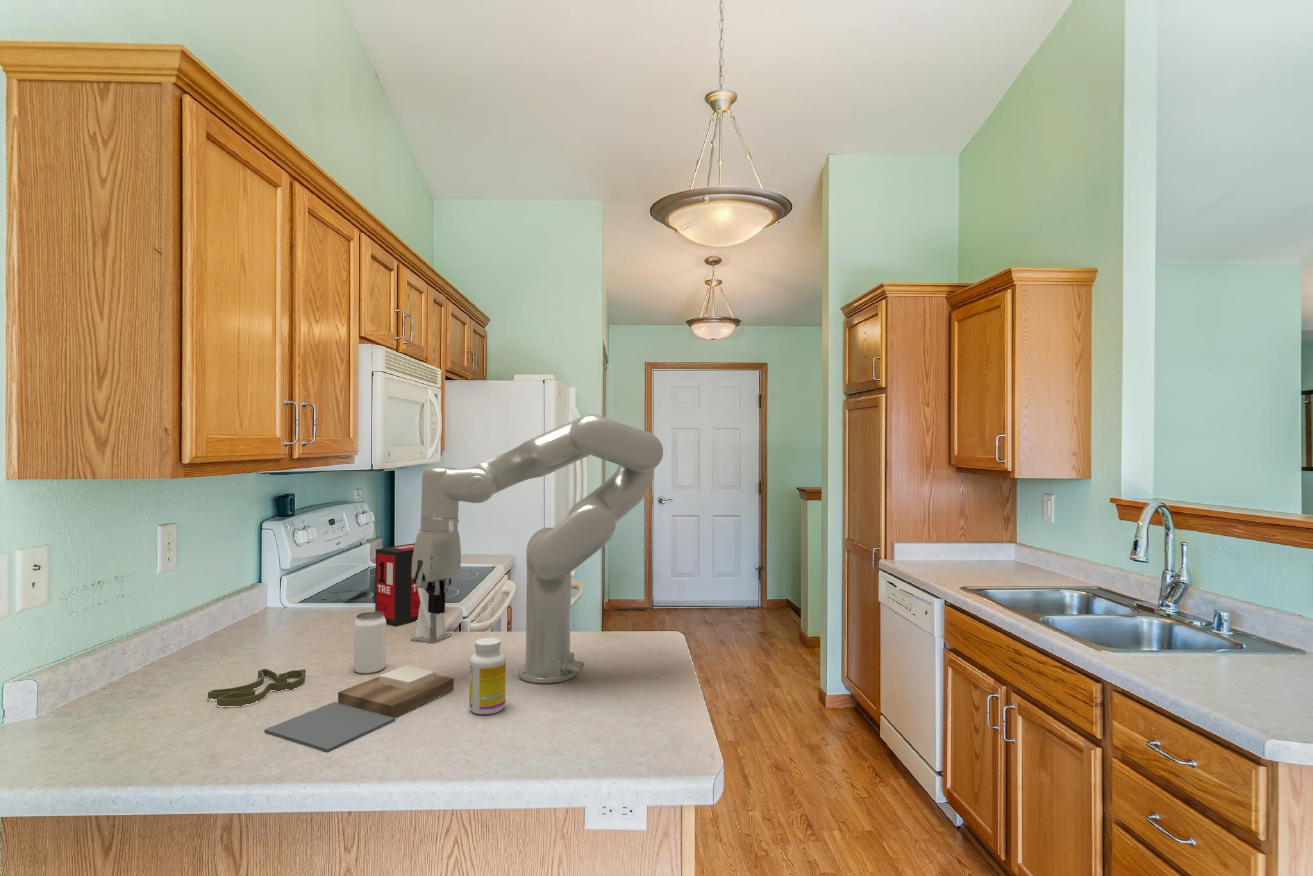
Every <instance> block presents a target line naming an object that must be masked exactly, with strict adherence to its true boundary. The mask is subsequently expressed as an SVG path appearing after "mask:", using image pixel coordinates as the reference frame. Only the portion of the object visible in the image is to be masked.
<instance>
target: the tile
mask: <svg viewBox="0 0 1313 876" xmlns="http://www.w3.org/2000/svg"><path fill="white" fill-rule="evenodd" d="M436 672H437V671H436V670H430V669H425V668H421V667H417V666H411V665H403V666H401V667H399V668H396V669H393V670H390V671H388V672H385V673H383V674H380V675H379V676H378V677H379V683H380V684H384V685H389V686H393V687H397V688H401V689H405V690H411V689H413V688H415V687H418V686H420V685H423V684H425V683H427V682H430V681H432V680H434V679H436V675H437V674H436Z"/></svg>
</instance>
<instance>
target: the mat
mask: <svg viewBox="0 0 1313 876" xmlns="http://www.w3.org/2000/svg"><path fill="white" fill-rule="evenodd" d="M393 722H396V718H394V717H390V716H386V715H383V714H379V713H375V712H371V711H367V710H364V709H360V708H356V707H352V706H348V705H345V704H341V703H338V701H337V702H336V701H333V702H331V703H328V704H325V705H323V706H320V707H317V708H315V709H312V710H311V711H307V712H305V713H302V714H299V715H297V716H294V717H292V718H290V719H288V720H285V721H282V722H279V723H277V724H274V725H273V726H270V727H268V728H265V729H264V730H263V731H264V733H265V734H268V735H271V736H275V737H278V738H280V739H284V740H287V741H291V742H294V743H297V744H300V745H304V746H307V747H310V748H313V749H315V750H319V751H323V752H326V753H329V752H331V751H333V750H336V749H338V748H340V747H342V746H344V745H346V744H349V743H351V742H353V741H354V740H358V739H359V738H361V737H363V736H365V735H367V734H370V733H372V732H374V731H377V730H378V729H380V728H383V727H385V726H387V725H388V724H391V723H393Z"/></svg>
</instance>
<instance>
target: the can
mask: <svg viewBox="0 0 1313 876" xmlns="http://www.w3.org/2000/svg"><path fill="white" fill-rule="evenodd" d="M353 626H354V630H353V635H354V637H353V670H354V672H356V674H361V675H371V674H375V673H380V672H382V671H384V669H385V668H386V666H387V665H386V664H387V661H386V660H387V624H386V619H385V617H384V613H382V612H375V611H367V612H362V613H359V614H357V615H356V619H355V621H354V625H353Z"/></svg>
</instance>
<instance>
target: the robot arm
mask: <svg viewBox="0 0 1313 876" xmlns="http://www.w3.org/2000/svg"><path fill="white" fill-rule="evenodd" d="M590 456H593V457H595V458H598V459H601V460H604V461H607V462H610V463H613V464H616V465H618V466H617V468H616V470H615V472H614V473H613V474H612V476H610V477H609V478H607V480H605V481H604V482H603V483H602V484H601V485H600V486H598V487H597V488H595V489H594V490H593V491H592V492H590V493H589V494H587V496H585V497H584V498H582V499H581V500H579V501H577V502H576V503H574V505H572V507H571V508H570V509H569V511H568V516H567V517H565V518H564V519H563V520H561V521H560V522H559V523H557V524H556V525H554V526H553V527H543V528H541V529H539V530H537V531H535V533H534V534H532V536H531V537H530V538H529V540H528V543H527V545H526V554H525V555H526V606H525V607H526V608H525V609H526V613H525V614H526V618H525V623H526V625H525V626H526V627H525V663H524V664H522V665H520V667H519V668H518V677H519V678H520V679H521V680H523V681H525V682H529V683H535V684H553V683H554V684H555V683H560V682H565V681H568V680H570V679H572V678H574V677H575V676H576V675H577V674H579V675H581V674H582V673H583V672H584V666H585V662H584V661H582V660H576V659H575V652H571V610H572V609H571V606H572V605H571V604H572V602H571V601H572V572H573V571H574V570H575V569H577V568H578V567H579V566H580V565H582V564H583V563H584V562H585V561H587V560H588V559H589V558H591V557H592V556H593V555H594V554H596V553H597V552H598V551H600V550H601V549H602V548H603V547H605V545H606V544H607V543H608V542H609V541H610V540H611V539H612V537H613V535H614V534H615V531H616V526H617V523H618V521H620V520H621V519H623V517H625V516H626V515H627V514H628V513H630V511H632V509H634V508H635V507H636V506H637V505H638V504H640V502H642V500H643V499H644V498H645V496H646V495H647V494H648V492H649V490H650V488H651V486H652V483H653V479H654V474H655V469H656V468H657V467H658V466H659V464H661V462H662V460H663V457H664V448H663V445H662V442H661V441H660V439H659V438H658V437H657V436H656V435H655V434H653V433H651V432H648V431H646V430H642V429H640V428H636V427H634V426H631V425H627V424H625V423H621V422H619V421H615V420H612V419H609V418H607V417H606V416H602V415H599V414H595V413H594V414H587V415H583V416H580V417H578V418H575V419H572V420H571V421H568V422H567V423H563V424H562V425H560V426H557V427H555V428H553V429H550V430H549V431H546V432H544V433H542V434H539V435H537V436H535V437H532V438H530V439H529V440H526V441H524V442H523V443H521V444H519V445H518V446H516V447H514V448H512V449H510V450H508V451H506V452H503V453H501V454H499V455H496V456H495V457H492V458H490V459H488V460H485V461H483V462H481V463H479V464H476V465H474V466H471V467H470V468H456V467H452V466H428V467H426V468H424V470H423V471H422V476H421V502H420V503H421V504H420V505H421V506H420V527H419V528H420V533H419V532H417V534H416V537H415V542H414V543H415V546H414V552H413V560H412V579H414V580H417V584H416V587H417V588H423V589H425V590H426V593H427V594H429V595H428V612H429V613H434V614H440V613H444V614H445V612H446V594H447V593H448V591H449V587H450V585H451V584H452V583H453V582H456V581H457V579H458V575H459V574H460V572H461V564H462V563H461V562H462V556H461V555H462V554H461V553H462V552H461V551H462V549H461V547H462V546H461V538H460V533H459V532H460V531H459V530H458V529H459V528H458V527H459V522H460V520H459V505H460V504H459V502H465V503H471V504H480V503H484V502H487V501H488V500H490V499H491V498H492V496H493V495H495V494H497V493H499V492H501V491H503V490H506V489H508V488H510V487H513V486H515V485H517V484H519V483H522V482H525V481H527V480H530V479H537V478H541V477H544V476H547V475H550V474H552V473H555V472H556V471H558V470H561V469H562V468H565V467H567V466H569V465H572V464H574V463H576V462H578V461H581V460H583V459H584V458H587V457H590ZM441 580H442V581H441Z"/></svg>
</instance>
